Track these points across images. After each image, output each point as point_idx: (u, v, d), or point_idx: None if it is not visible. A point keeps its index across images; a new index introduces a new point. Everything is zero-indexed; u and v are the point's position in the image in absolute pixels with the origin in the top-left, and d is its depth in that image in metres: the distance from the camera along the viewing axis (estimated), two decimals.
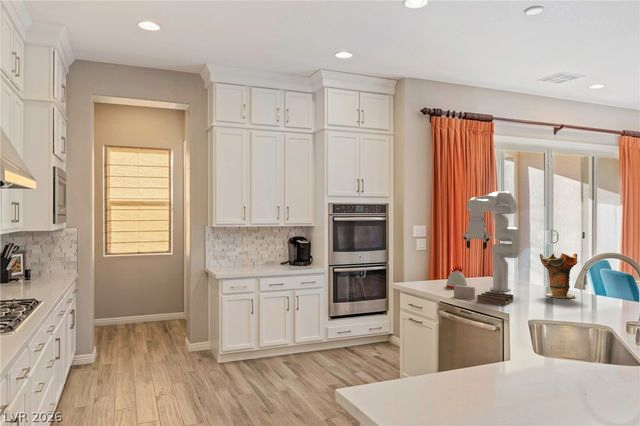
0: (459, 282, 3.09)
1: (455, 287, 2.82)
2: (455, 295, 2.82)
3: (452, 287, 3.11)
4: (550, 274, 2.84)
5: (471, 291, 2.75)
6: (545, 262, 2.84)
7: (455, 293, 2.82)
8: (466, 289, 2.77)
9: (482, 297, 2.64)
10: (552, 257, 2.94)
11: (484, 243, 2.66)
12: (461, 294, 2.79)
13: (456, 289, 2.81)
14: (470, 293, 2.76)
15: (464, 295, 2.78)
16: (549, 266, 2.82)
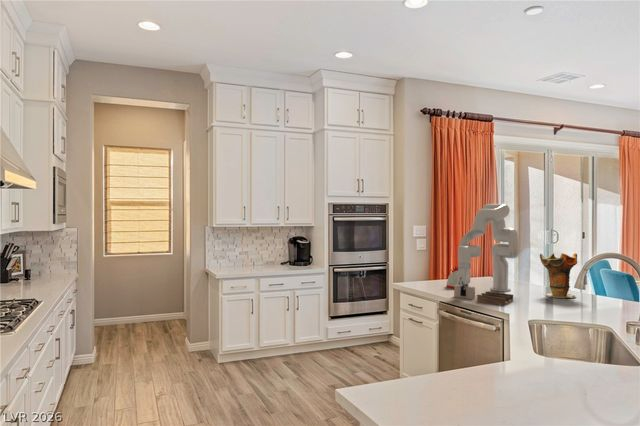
0: None
1: (455, 287, 2.81)
2: (455, 295, 2.82)
3: (452, 287, 3.11)
4: (550, 274, 2.84)
5: (472, 291, 2.75)
6: (545, 262, 2.84)
7: (455, 293, 2.81)
8: (466, 289, 2.77)
9: (482, 297, 2.64)
10: (552, 257, 2.94)
11: None
12: None
13: (456, 289, 2.81)
14: (470, 293, 2.76)
15: None
16: (549, 266, 2.82)
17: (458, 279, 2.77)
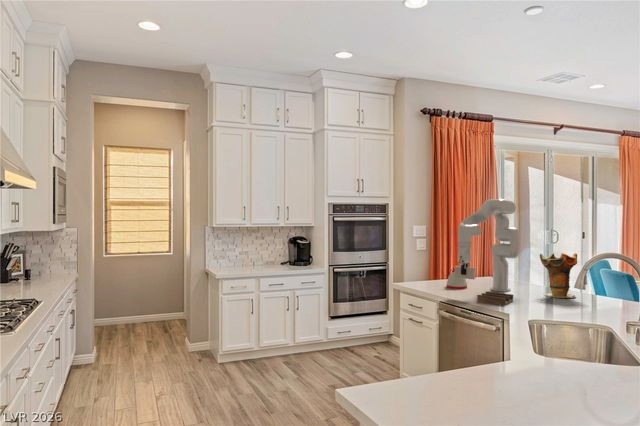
0: (459, 282, 3.09)
1: (456, 268, 2.82)
2: (456, 276, 2.82)
3: (452, 287, 3.11)
4: (550, 274, 2.84)
5: (472, 271, 2.75)
6: (545, 262, 2.84)
7: (456, 274, 2.82)
8: (467, 270, 2.77)
9: (482, 297, 2.64)
10: (552, 257, 2.94)
11: None
12: None
13: (457, 269, 2.81)
14: (470, 273, 2.76)
15: (465, 275, 2.78)
16: (549, 266, 2.82)
17: (458, 258, 2.77)
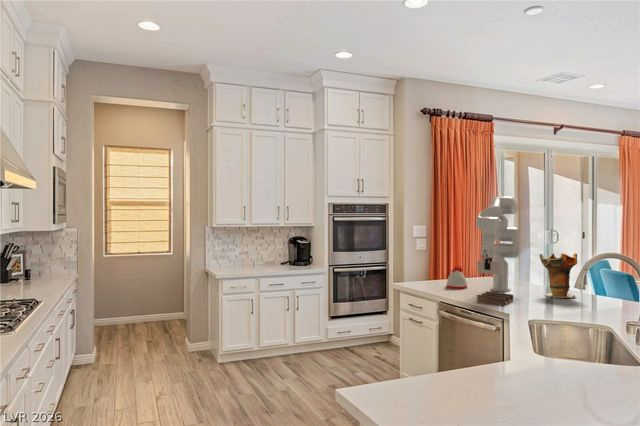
0: (459, 282, 3.09)
1: (479, 262, 2.69)
2: (478, 271, 2.69)
3: (452, 287, 3.11)
4: (550, 274, 2.84)
5: (496, 266, 2.62)
6: (545, 262, 2.84)
7: (478, 268, 2.69)
8: (491, 264, 2.64)
9: (482, 297, 2.64)
10: (552, 257, 2.94)
11: None
12: None
13: (480, 264, 2.68)
14: (494, 268, 2.63)
15: (488, 270, 2.65)
16: (549, 266, 2.82)
17: (482, 252, 2.64)
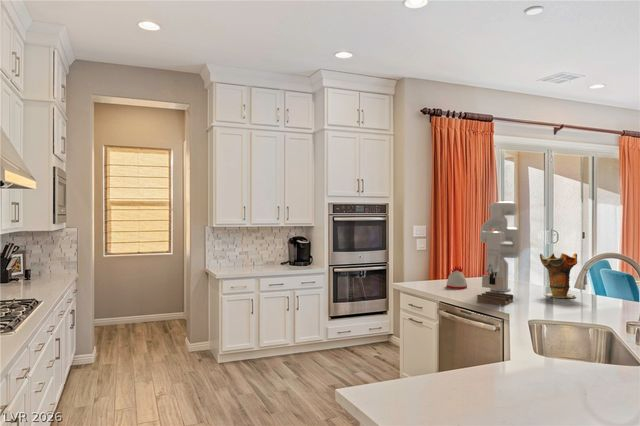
0: (459, 282, 3.09)
1: (483, 277, 2.66)
2: (483, 285, 2.66)
3: (452, 287, 3.11)
4: (550, 274, 2.84)
5: (502, 281, 2.60)
6: (545, 262, 2.84)
7: (483, 283, 2.66)
8: (496, 279, 2.62)
9: (482, 297, 2.64)
10: (552, 257, 2.94)
11: None
12: (490, 284, 2.64)
13: (484, 278, 2.66)
14: (500, 283, 2.60)
15: (493, 285, 2.63)
16: (549, 266, 2.82)
17: (487, 266, 2.61)
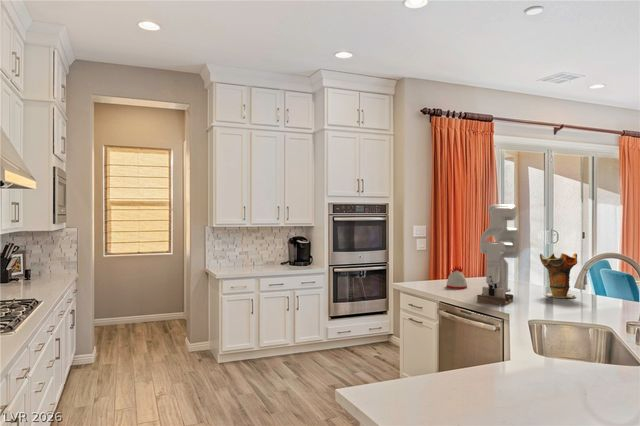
0: (459, 282, 3.09)
1: (484, 289, 2.66)
2: None
3: (452, 287, 3.11)
4: (550, 274, 2.84)
5: (502, 293, 2.60)
6: (545, 262, 2.84)
7: (484, 295, 2.66)
8: (496, 291, 2.62)
9: (482, 297, 2.64)
10: (552, 257, 2.94)
11: None
12: None
13: (485, 291, 2.66)
14: (500, 295, 2.61)
15: None
16: (549, 266, 2.82)
17: (487, 278, 2.62)
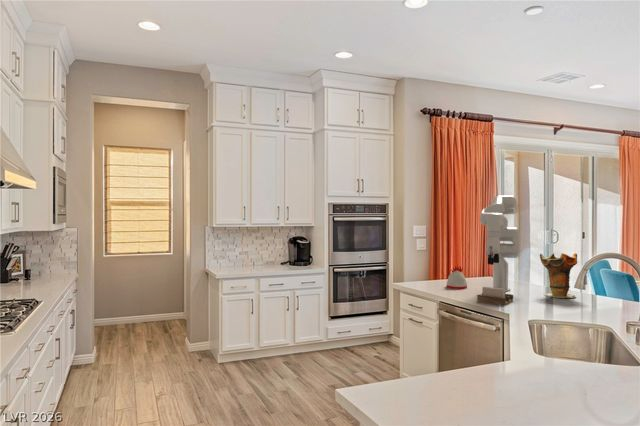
0: (459, 282, 3.09)
1: (484, 289, 2.66)
2: None
3: (452, 287, 3.11)
4: (550, 274, 2.84)
5: (502, 293, 2.60)
6: (545, 262, 2.84)
7: (484, 295, 2.66)
8: (496, 291, 2.62)
9: (482, 297, 2.64)
10: (552, 257, 2.94)
11: None
12: None
13: (485, 291, 2.66)
14: (500, 295, 2.61)
15: None
16: (549, 266, 2.82)
17: (487, 248, 2.61)
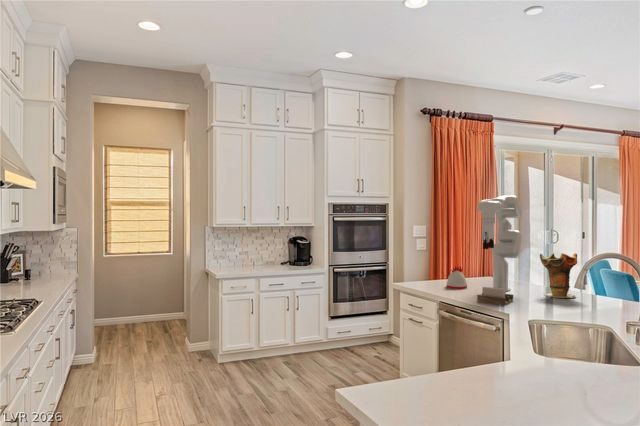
0: (459, 282, 3.09)
1: (484, 289, 2.66)
2: None
3: (452, 287, 3.11)
4: (550, 274, 2.84)
5: (502, 293, 2.60)
6: (545, 262, 2.84)
7: (484, 295, 2.66)
8: (496, 291, 2.62)
9: (482, 297, 2.64)
10: (552, 257, 2.94)
11: None
12: None
13: (485, 291, 2.66)
14: (500, 295, 2.61)
15: None
16: (549, 266, 2.82)
17: (483, 234, 2.78)
